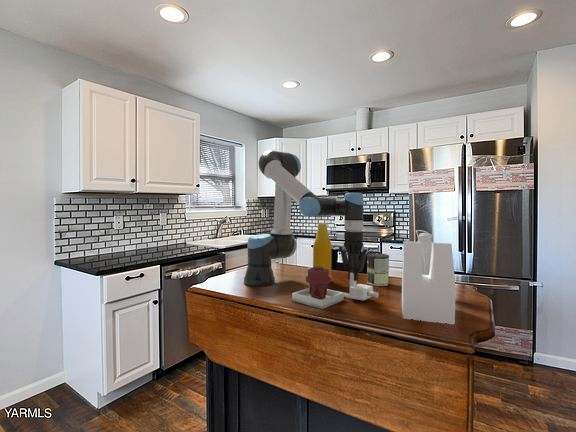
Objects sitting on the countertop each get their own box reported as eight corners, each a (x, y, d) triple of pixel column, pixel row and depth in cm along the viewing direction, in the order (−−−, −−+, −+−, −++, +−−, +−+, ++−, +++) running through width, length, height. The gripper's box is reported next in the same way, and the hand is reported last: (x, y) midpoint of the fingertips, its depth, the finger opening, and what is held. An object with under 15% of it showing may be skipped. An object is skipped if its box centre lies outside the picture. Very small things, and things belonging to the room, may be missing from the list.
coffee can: (363, 283, 148) (364, 255, 148) (371, 279, 157) (371, 252, 156) (384, 287, 142) (385, 257, 142) (391, 282, 151) (392, 254, 150)
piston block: (349, 297, 121) (349, 287, 121) (359, 293, 127) (359, 283, 127) (372, 302, 115) (372, 292, 115) (382, 298, 121) (382, 288, 121)
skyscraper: (421, 297, 127) (423, 230, 126) (410, 292, 135) (411, 229, 134) (439, 296, 129) (440, 230, 128) (426, 291, 137) (428, 229, 136)
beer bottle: (334, 280, 154) (334, 223, 153) (326, 284, 146) (327, 224, 145) (317, 278, 159) (318, 223, 158) (309, 282, 151) (309, 223, 150)
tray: (292, 300, 121) (292, 293, 121) (314, 293, 132) (314, 286, 132) (322, 309, 111) (322, 300, 111) (343, 300, 122) (343, 292, 122)
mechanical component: (331, 295, 125) (329, 302, 116) (307, 293, 127) (303, 300, 118) (331, 265, 125) (330, 270, 115) (307, 264, 127) (303, 268, 117)
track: (333, 294, 130) (333, 292, 129) (337, 293, 132) (337, 290, 132) (356, 300, 122) (356, 297, 122) (360, 298, 124) (360, 296, 124)
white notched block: (454, 324, 97) (456, 246, 96) (403, 318, 102) (404, 244, 101) (444, 306, 115) (446, 240, 115) (401, 302, 120) (402, 239, 120)
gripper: (335, 230, 126) (334, 287, 126) (363, 232, 117) (363, 293, 118) (344, 229, 131) (344, 283, 132) (372, 231, 123) (372, 289, 123)
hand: (353, 288), depth 125 cm, fingers closed
